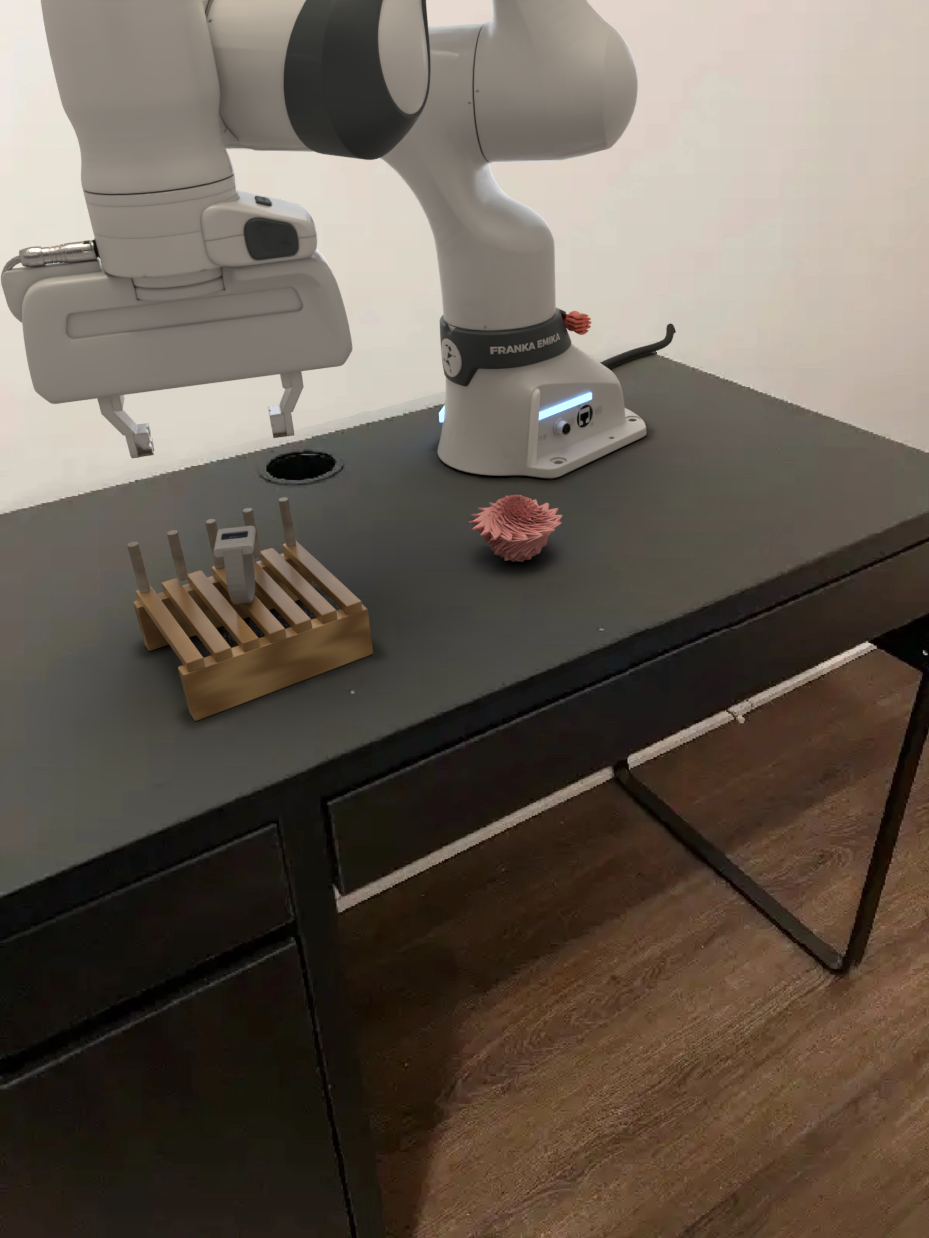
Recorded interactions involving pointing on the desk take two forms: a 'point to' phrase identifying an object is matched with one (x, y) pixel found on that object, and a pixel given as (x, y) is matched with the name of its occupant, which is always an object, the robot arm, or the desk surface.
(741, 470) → the desk surface
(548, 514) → the flower
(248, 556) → the wristwatch
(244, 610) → the rack
